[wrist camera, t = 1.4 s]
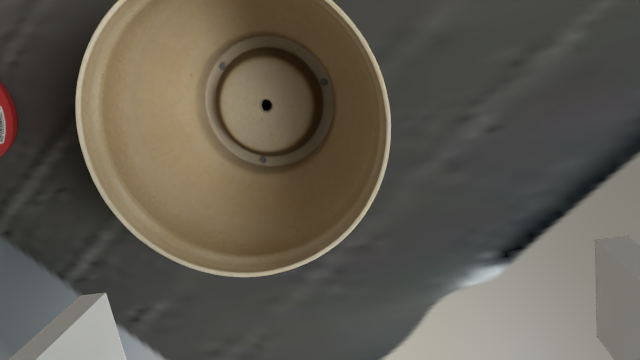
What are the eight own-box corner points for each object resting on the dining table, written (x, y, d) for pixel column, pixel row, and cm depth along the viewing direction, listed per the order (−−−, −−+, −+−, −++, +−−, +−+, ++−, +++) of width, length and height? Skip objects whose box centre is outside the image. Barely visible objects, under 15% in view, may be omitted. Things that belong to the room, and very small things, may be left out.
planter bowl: (164, 200, 38) (85, 262, 27) (159, -25, 33) (61, -53, 23) (372, 221, 36) (373, 295, 26) (397, -9, 32) (410, -31, 21)
